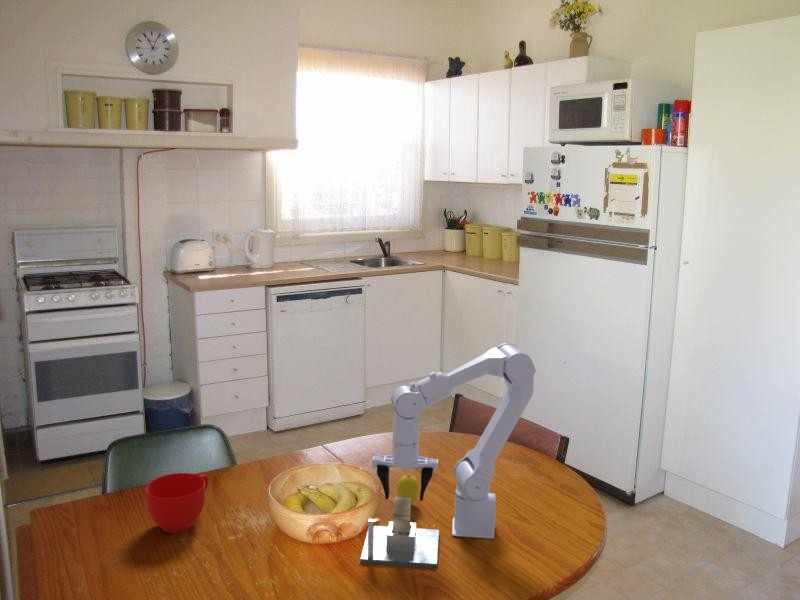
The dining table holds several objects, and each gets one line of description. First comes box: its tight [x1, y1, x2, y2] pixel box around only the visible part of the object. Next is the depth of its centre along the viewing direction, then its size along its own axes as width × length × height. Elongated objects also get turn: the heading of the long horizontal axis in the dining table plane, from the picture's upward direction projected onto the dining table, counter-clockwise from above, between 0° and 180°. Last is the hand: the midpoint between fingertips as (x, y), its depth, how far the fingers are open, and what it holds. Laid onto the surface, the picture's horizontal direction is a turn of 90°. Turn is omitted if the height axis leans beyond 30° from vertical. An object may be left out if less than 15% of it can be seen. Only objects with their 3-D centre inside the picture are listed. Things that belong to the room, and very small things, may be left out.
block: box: [392, 496, 412, 532], centre depth 153 cm, size 4×4×6 cm
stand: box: [359, 517, 440, 569], centre depth 153 cm, size 16×14×9 cm
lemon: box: [396, 473, 421, 504], centre depth 173 cm, size 6×6×8 cm
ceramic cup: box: [144, 472, 209, 534], centre depth 162 cm, size 13×17×10 cm
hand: (404, 497), depth 158 cm, fingers open, 7 cm apart
